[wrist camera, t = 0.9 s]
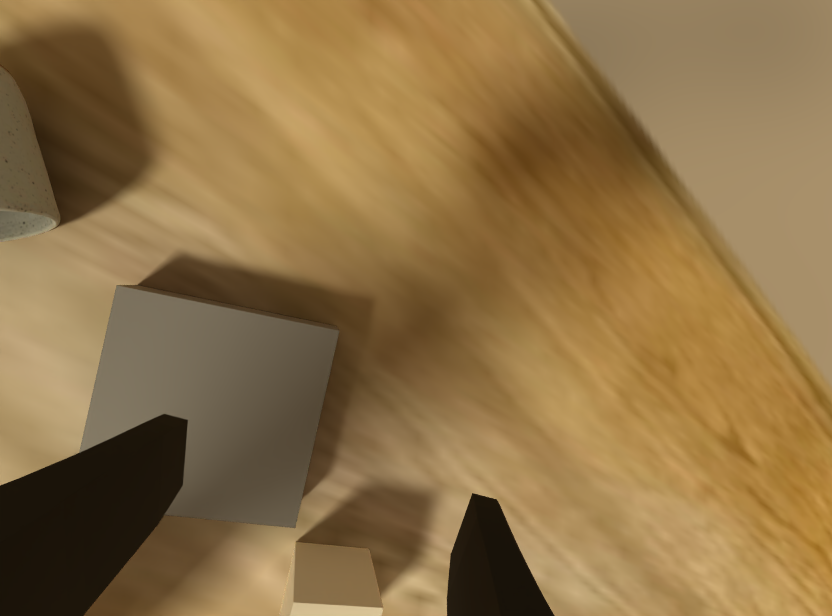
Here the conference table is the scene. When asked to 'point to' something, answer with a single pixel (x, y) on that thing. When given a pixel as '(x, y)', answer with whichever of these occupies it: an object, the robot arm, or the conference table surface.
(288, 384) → the gray plinth
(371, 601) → the cream block
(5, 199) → the ceramic mug
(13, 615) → the robot arm
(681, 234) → the conference table surface
